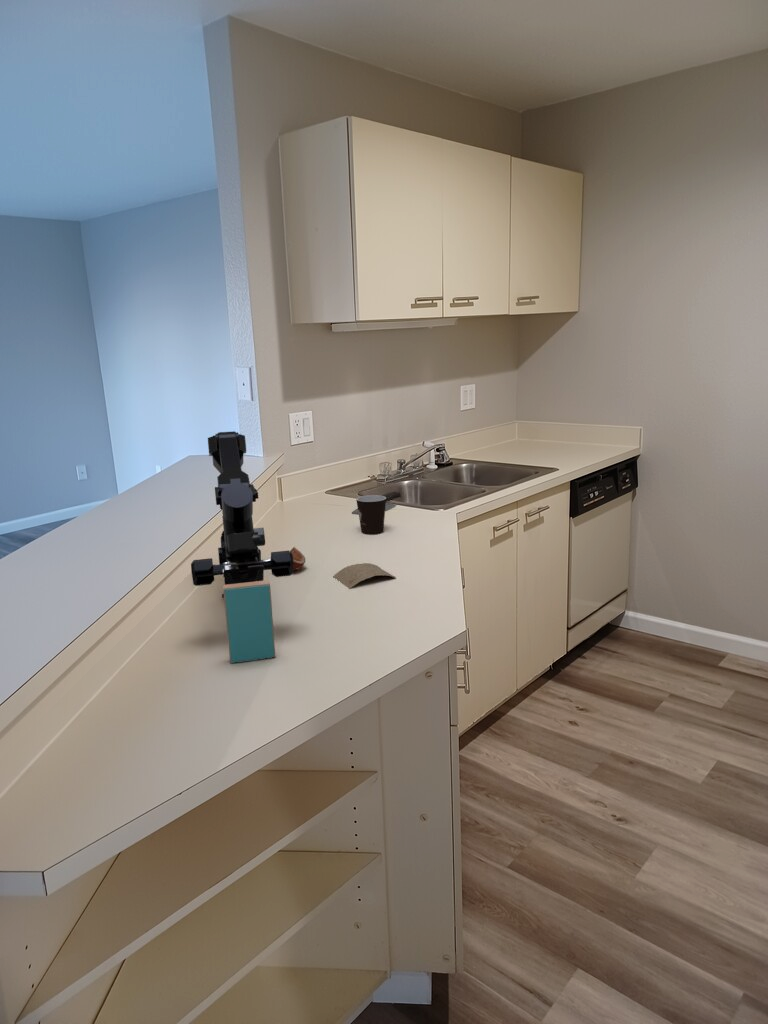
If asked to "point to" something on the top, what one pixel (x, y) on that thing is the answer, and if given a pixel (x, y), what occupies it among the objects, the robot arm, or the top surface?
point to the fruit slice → (297, 558)
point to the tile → (249, 621)
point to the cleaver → (388, 497)
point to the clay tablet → (358, 573)
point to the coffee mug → (371, 513)
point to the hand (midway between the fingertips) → (247, 608)
